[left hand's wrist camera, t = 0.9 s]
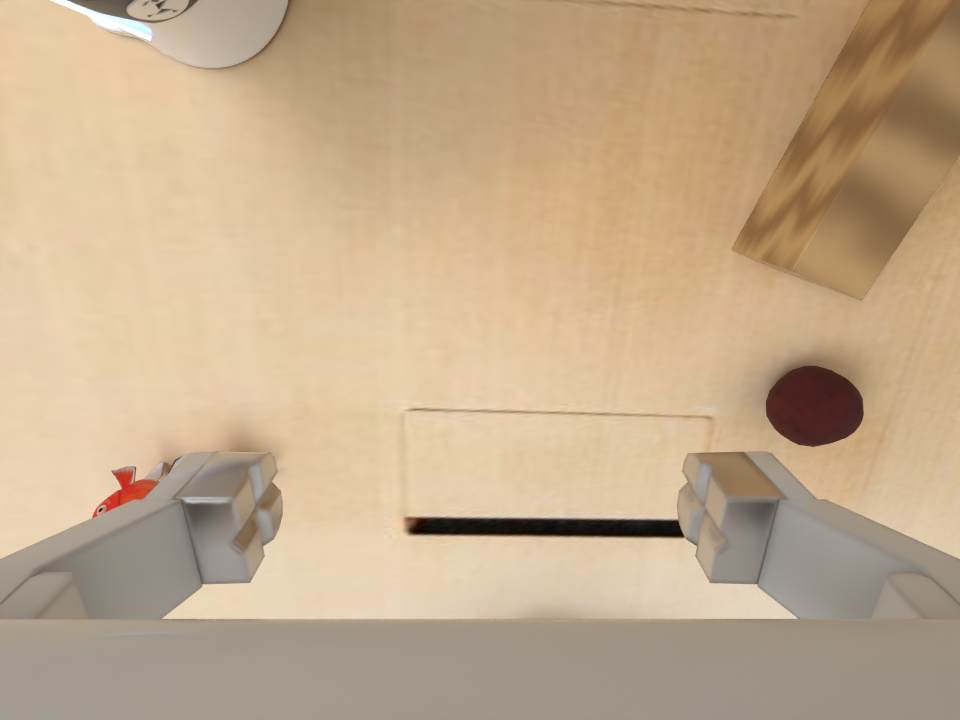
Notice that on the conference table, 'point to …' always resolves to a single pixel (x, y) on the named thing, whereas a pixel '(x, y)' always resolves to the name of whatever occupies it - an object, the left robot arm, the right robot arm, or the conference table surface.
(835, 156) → the box
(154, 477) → the fish
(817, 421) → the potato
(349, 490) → the conference table surface
